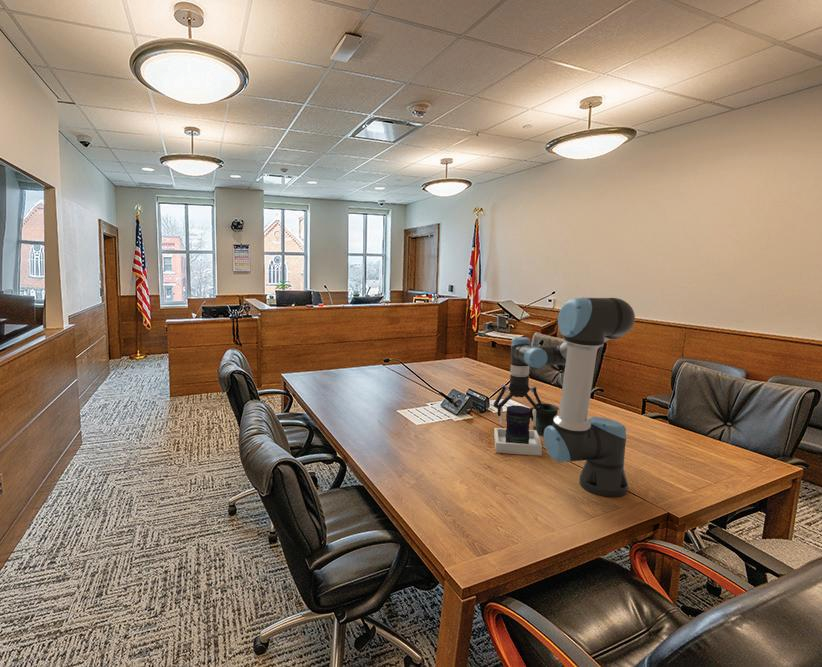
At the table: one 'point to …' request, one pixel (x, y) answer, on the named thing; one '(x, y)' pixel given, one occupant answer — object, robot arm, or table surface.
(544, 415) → the mug
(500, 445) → the tray
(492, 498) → the table surface
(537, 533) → the table surface
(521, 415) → the dark blue canister
